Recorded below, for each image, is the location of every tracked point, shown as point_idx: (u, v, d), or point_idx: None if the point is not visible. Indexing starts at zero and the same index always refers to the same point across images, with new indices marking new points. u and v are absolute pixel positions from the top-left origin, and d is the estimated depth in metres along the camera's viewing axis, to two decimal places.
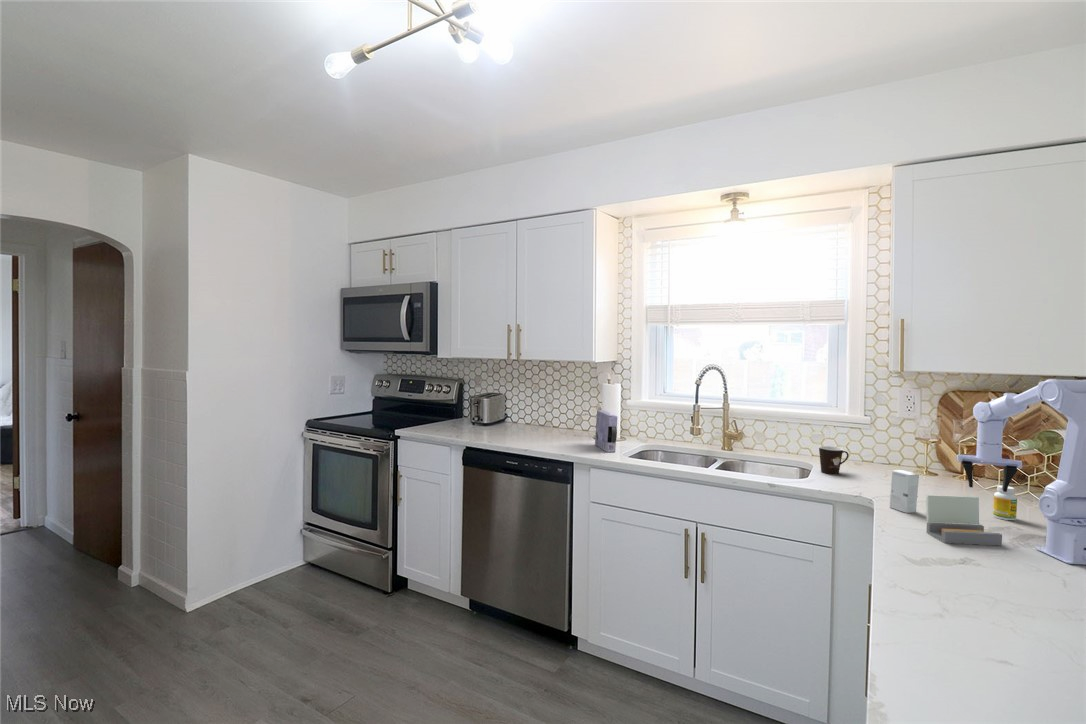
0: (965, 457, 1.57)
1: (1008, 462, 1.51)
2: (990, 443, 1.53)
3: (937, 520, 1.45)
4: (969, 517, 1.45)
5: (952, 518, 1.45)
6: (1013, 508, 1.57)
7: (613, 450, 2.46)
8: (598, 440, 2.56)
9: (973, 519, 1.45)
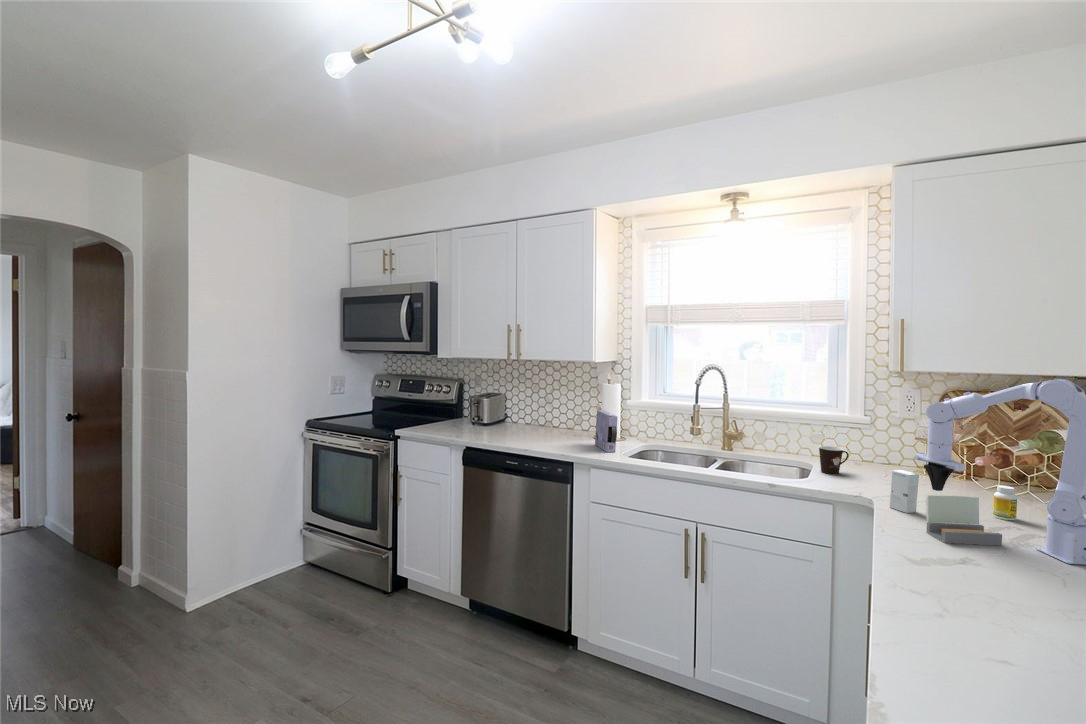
0: (919, 455, 1.57)
1: (946, 463, 1.47)
2: (947, 444, 1.49)
3: (937, 520, 1.45)
4: (969, 517, 1.45)
5: (952, 518, 1.45)
6: (1013, 508, 1.57)
7: (613, 450, 2.46)
8: (599, 440, 2.56)
9: (973, 519, 1.45)
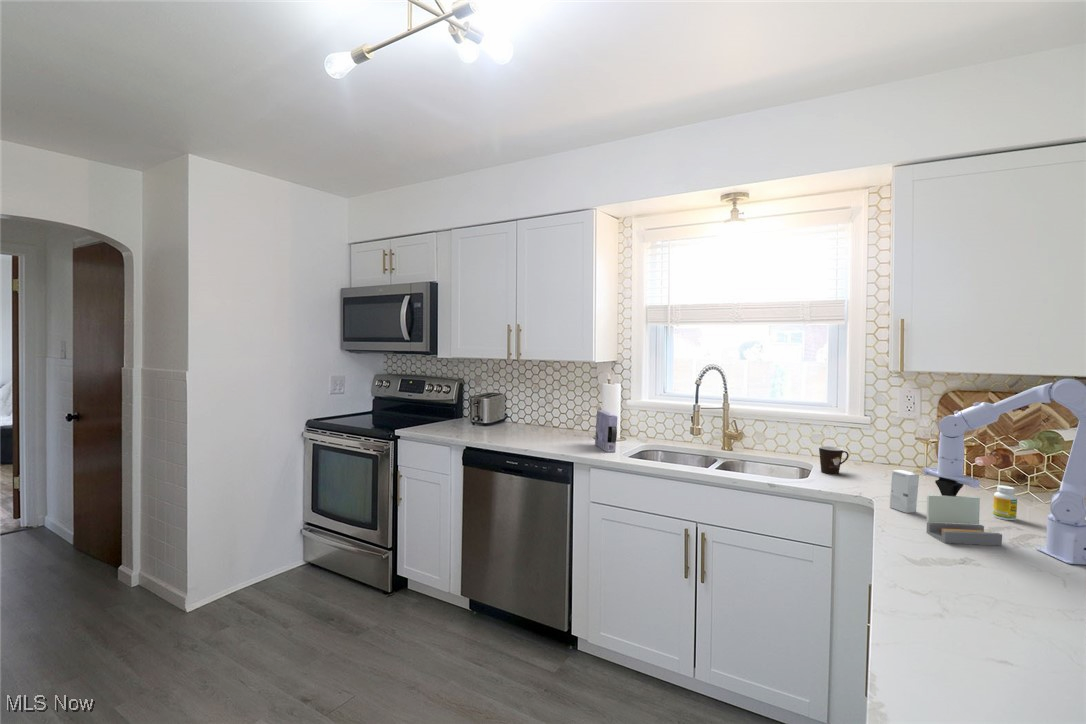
0: (927, 470, 1.52)
1: (960, 479, 1.43)
2: (960, 459, 1.44)
3: (937, 520, 1.45)
4: (969, 517, 1.45)
5: (952, 518, 1.45)
6: (1013, 508, 1.57)
7: (613, 450, 2.46)
8: (598, 440, 2.56)
9: (973, 519, 1.45)
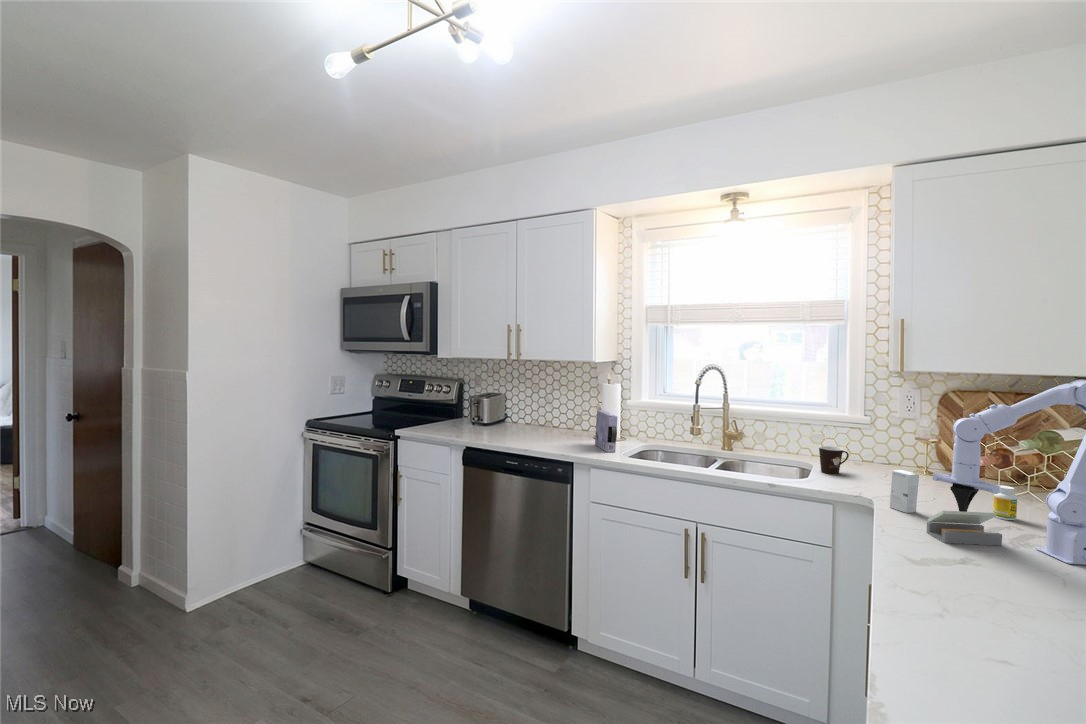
0: (939, 476, 1.45)
1: (980, 485, 1.36)
2: (978, 464, 1.38)
3: (938, 521, 1.45)
4: (973, 521, 1.43)
5: (955, 521, 1.44)
6: (1013, 508, 1.57)
7: (613, 450, 2.46)
8: (598, 440, 2.56)
9: (976, 522, 1.44)
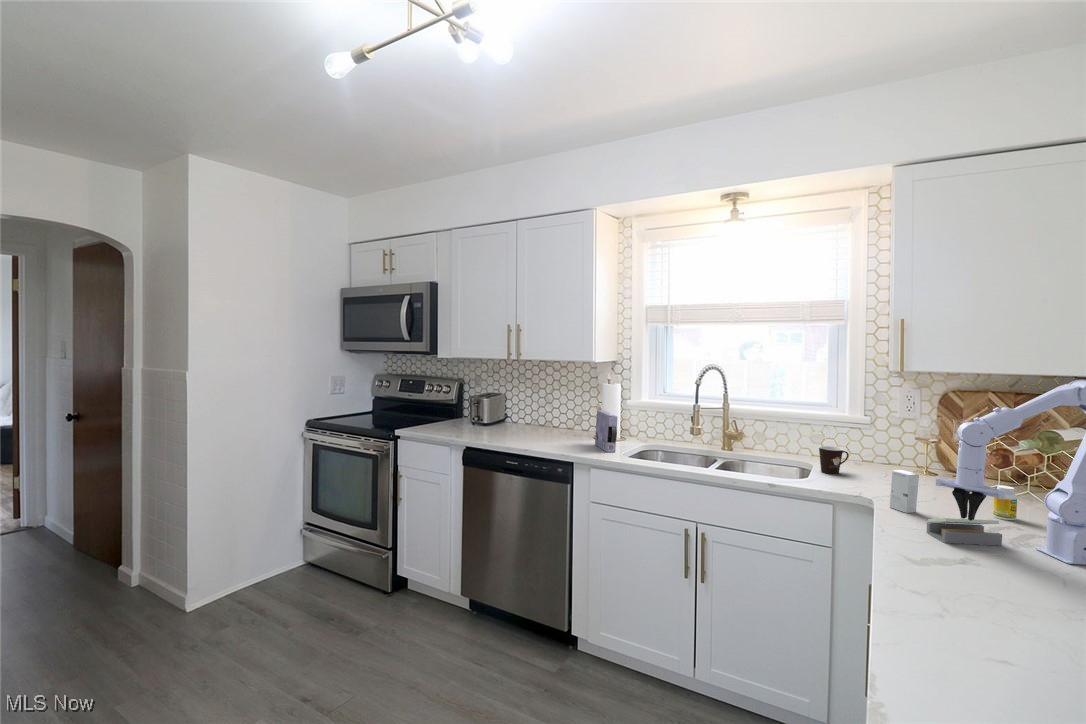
0: (943, 481, 1.43)
1: (987, 490, 1.35)
2: (983, 469, 1.36)
3: None
4: None
5: None
6: (1013, 508, 1.57)
7: (613, 450, 2.46)
8: (599, 440, 2.56)
9: None
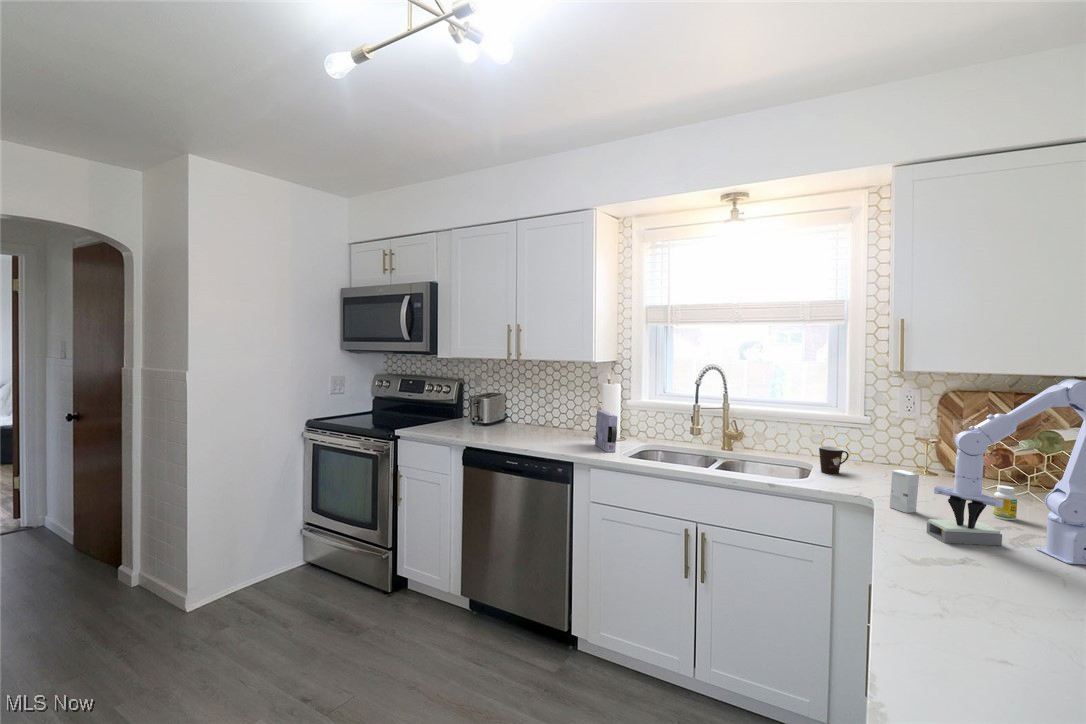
0: (941, 489, 1.44)
1: (984, 499, 1.35)
2: (981, 478, 1.37)
3: None
4: None
5: None
6: (1013, 508, 1.57)
7: (613, 450, 2.46)
8: (598, 440, 2.56)
9: None
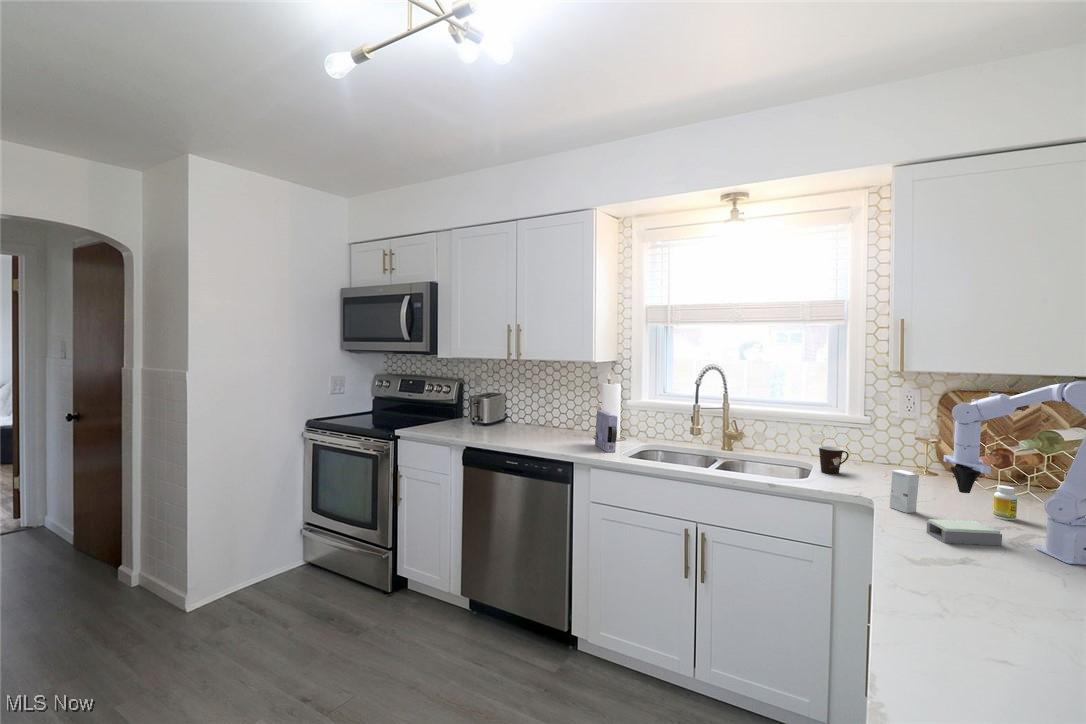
0: (947, 457, 1.55)
1: (971, 465, 1.45)
2: (974, 445, 1.46)
3: None
4: None
5: None
6: (1013, 508, 1.57)
7: (613, 450, 2.46)
8: (598, 440, 2.56)
9: None
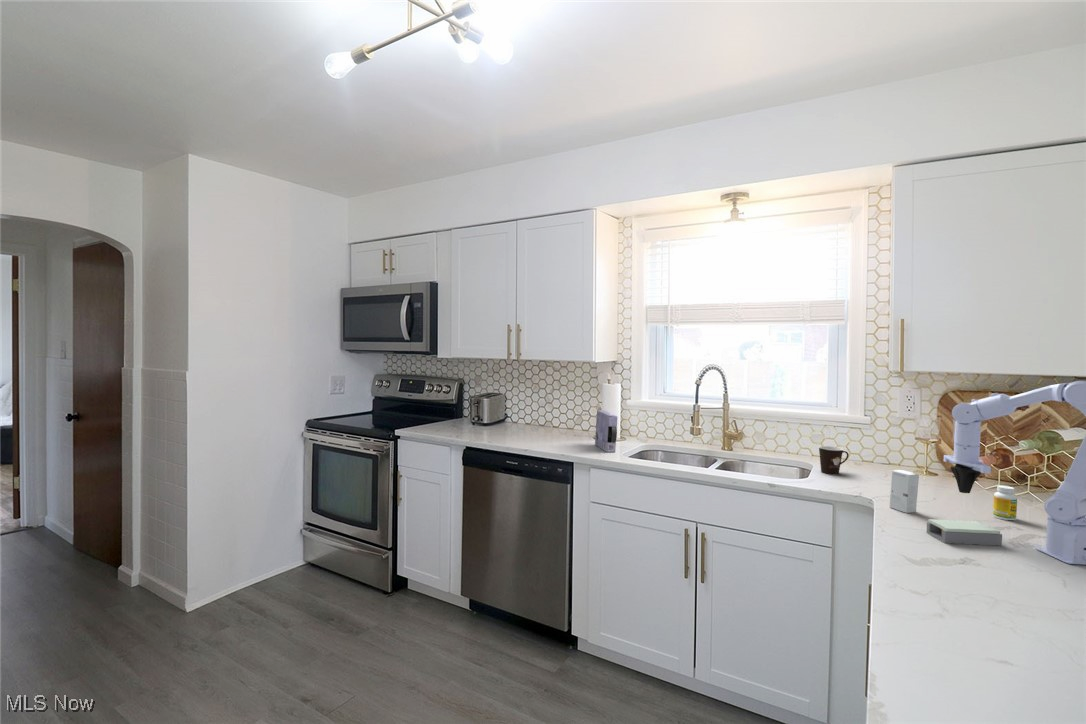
0: (947, 457, 1.55)
1: (971, 465, 1.45)
2: (974, 445, 1.46)
3: None
4: None
5: None
6: (1013, 508, 1.57)
7: (613, 450, 2.46)
8: (598, 440, 2.56)
9: None
